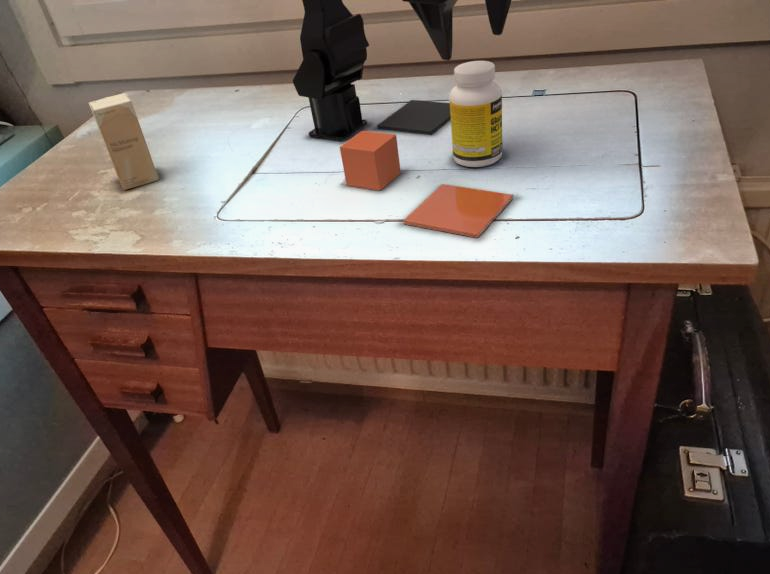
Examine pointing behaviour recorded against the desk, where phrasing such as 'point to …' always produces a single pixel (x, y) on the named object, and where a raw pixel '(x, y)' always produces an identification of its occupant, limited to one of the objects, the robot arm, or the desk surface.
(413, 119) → the charcoal mat
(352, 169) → the terracotta block
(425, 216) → the terracotta mat
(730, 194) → the desk surface
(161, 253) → the desk surface
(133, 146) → the box
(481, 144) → the pill bottle
